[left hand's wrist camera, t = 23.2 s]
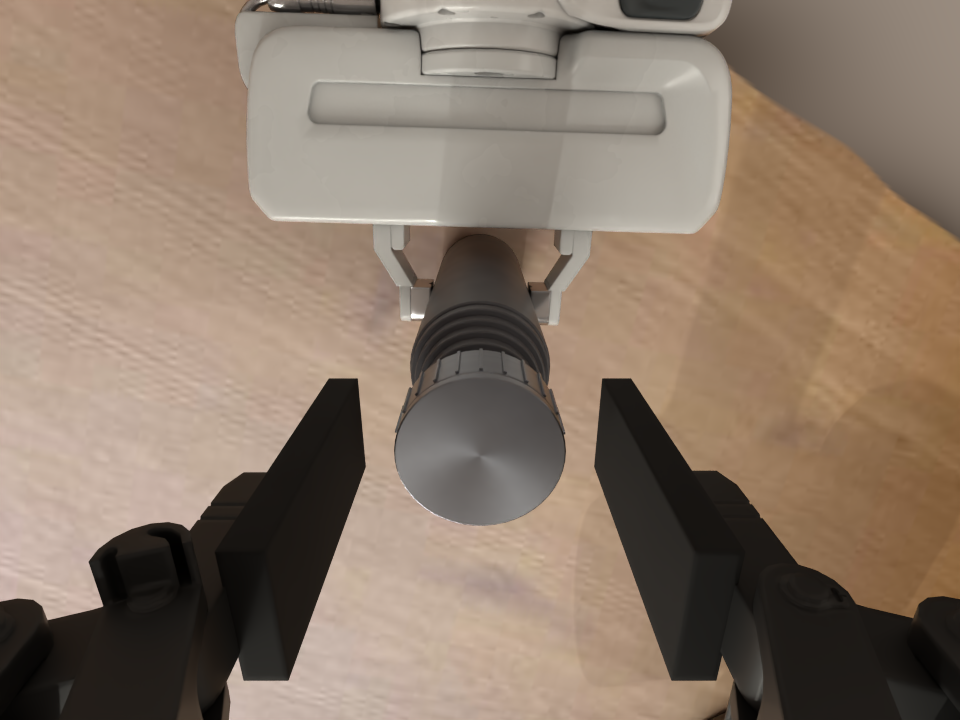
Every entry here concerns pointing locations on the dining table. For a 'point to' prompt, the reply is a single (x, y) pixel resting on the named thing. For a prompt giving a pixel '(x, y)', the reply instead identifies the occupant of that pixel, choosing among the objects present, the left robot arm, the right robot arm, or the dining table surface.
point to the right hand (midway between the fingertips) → (480, 320)
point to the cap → (480, 439)
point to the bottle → (480, 308)
